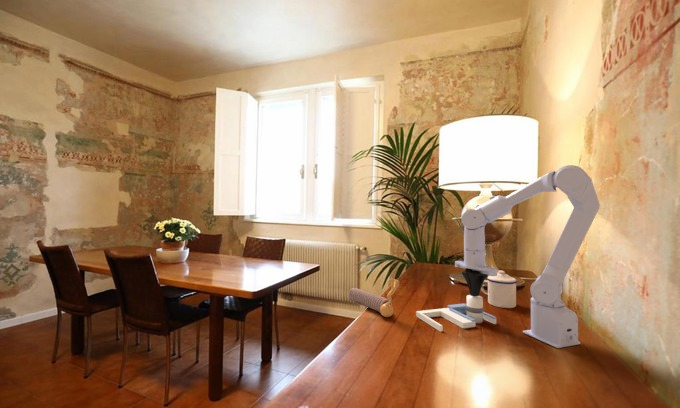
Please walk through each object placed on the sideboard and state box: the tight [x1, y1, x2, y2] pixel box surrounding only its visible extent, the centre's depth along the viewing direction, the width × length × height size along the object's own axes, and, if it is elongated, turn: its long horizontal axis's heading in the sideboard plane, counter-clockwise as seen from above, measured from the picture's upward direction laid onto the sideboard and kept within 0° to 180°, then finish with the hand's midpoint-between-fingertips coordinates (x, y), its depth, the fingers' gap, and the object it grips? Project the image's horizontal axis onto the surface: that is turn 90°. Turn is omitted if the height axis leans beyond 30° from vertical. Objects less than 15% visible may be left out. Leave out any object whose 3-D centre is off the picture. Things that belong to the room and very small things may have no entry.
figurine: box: [379, 277, 401, 318], centre depth 90 cm, size 8×6×12 cm
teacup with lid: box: [480, 270, 517, 309], centre depth 104 cm, size 12×9×12 cm
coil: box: [347, 287, 393, 313], centre depth 100 cm, size 5×5×18 cm
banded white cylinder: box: [465, 294, 484, 324], centre depth 88 cm, size 5×5×7 cm
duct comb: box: [415, 302, 497, 332], centre depth 88 cm, size 12×19×2 cm, turn 107°
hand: (474, 295), depth 88 cm, fingers closed
